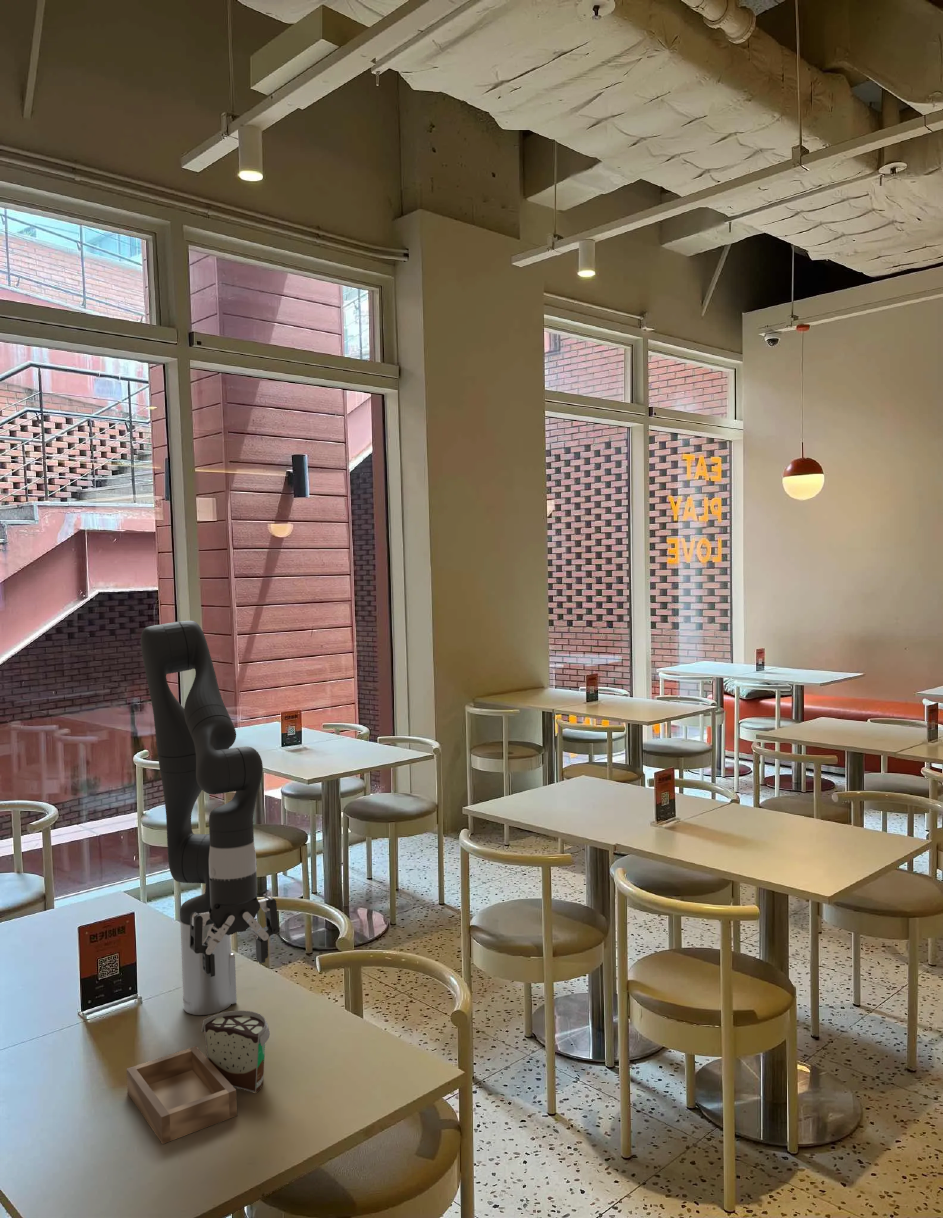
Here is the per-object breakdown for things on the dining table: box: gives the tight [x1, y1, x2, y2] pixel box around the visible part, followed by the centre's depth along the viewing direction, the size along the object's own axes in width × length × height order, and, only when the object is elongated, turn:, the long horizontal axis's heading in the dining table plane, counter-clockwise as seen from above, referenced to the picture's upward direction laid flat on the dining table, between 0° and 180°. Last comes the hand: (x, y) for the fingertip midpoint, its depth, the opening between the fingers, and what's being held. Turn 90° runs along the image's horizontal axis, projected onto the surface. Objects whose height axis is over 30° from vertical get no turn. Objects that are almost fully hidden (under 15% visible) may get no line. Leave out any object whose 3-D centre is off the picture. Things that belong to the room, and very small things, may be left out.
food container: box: [200, 1010, 271, 1093], centre depth 152 cm, size 12×6×10 cm, turn 65°
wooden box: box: [126, 1045, 238, 1145], centre depth 145 cm, size 11×17×4 cm, turn 36°
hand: (236, 968), depth 152 cm, fingers open, 8 cm apart
